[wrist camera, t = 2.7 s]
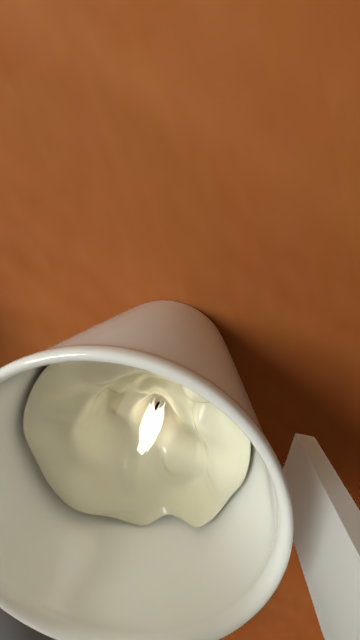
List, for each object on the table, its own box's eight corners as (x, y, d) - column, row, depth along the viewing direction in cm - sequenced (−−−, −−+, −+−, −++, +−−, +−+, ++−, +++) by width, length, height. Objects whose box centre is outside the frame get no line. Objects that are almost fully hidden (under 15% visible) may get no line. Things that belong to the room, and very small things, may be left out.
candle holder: (253, 408, 19) (327, 646, 8) (121, 435, 21) (13, 669, 9) (218, 269, 17) (244, 301, 6) (75, 309, 19) (-139, 400, 7)
